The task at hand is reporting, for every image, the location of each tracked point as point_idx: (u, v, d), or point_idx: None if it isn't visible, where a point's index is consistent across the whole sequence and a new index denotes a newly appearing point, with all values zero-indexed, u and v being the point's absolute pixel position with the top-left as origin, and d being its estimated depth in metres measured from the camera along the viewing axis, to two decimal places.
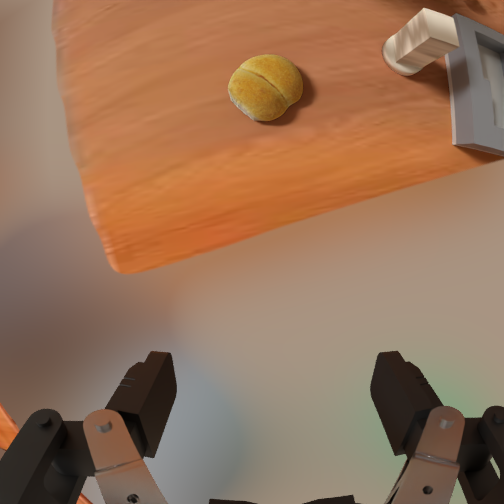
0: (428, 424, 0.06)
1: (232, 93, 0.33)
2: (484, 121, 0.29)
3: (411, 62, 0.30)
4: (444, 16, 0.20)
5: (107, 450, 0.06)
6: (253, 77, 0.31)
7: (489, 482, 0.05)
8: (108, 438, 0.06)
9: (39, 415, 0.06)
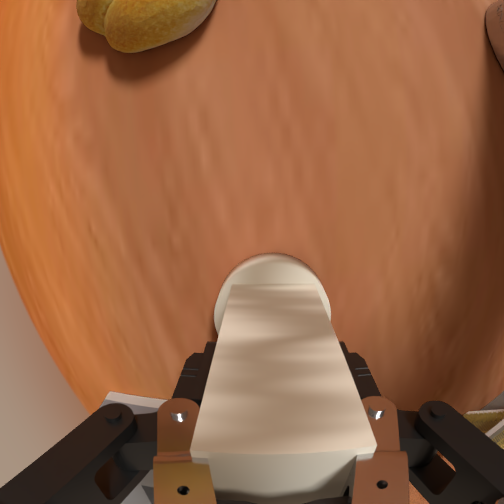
0: None
1: None
2: None
3: None
4: None
5: (191, 437, 0.07)
6: None
7: (442, 473, 0.06)
8: (180, 427, 0.07)
9: (110, 409, 0.07)
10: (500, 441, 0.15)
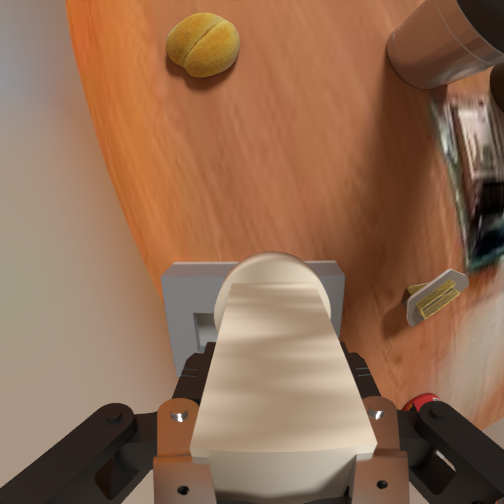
0: None
1: None
2: (191, 295, 0.33)
3: None
4: None
5: (191, 437, 0.07)
6: (205, 27, 0.27)
7: (442, 473, 0.06)
8: (180, 427, 0.07)
9: (110, 409, 0.07)
10: (435, 303, 0.33)
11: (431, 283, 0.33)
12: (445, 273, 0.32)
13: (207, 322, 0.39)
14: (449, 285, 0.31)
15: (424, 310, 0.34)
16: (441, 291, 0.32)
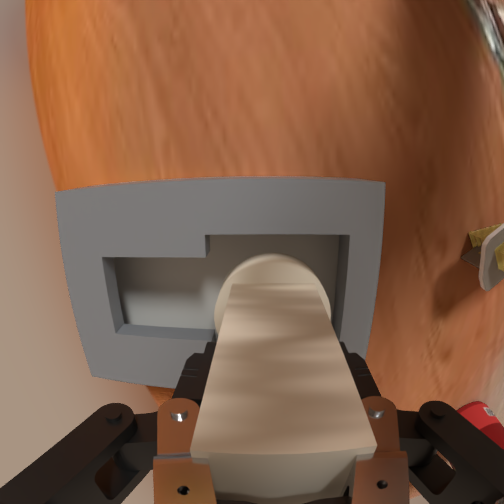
0: None
1: None
2: (99, 223, 0.17)
3: None
4: None
5: (191, 437, 0.07)
6: None
7: (442, 474, 0.06)
8: (180, 427, 0.07)
9: (110, 409, 0.07)
10: None
11: None
12: None
13: (141, 286, 0.23)
14: None
15: (503, 263, 0.17)
16: None
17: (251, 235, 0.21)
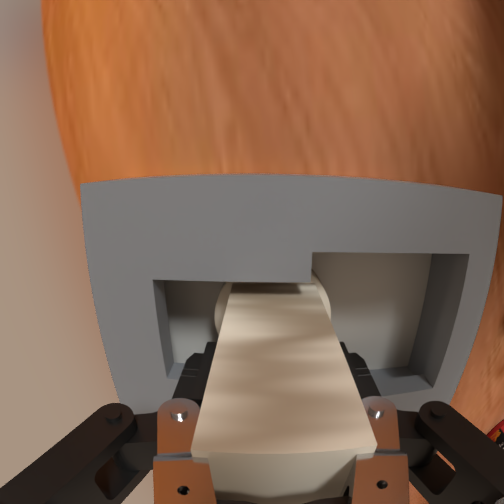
0: None
1: None
2: (150, 232, 0.12)
3: None
4: None
5: (191, 437, 0.07)
6: None
7: (442, 473, 0.06)
8: (180, 427, 0.07)
9: (110, 409, 0.07)
10: None
11: None
12: None
13: (192, 311, 0.18)
14: None
15: None
16: None
17: None
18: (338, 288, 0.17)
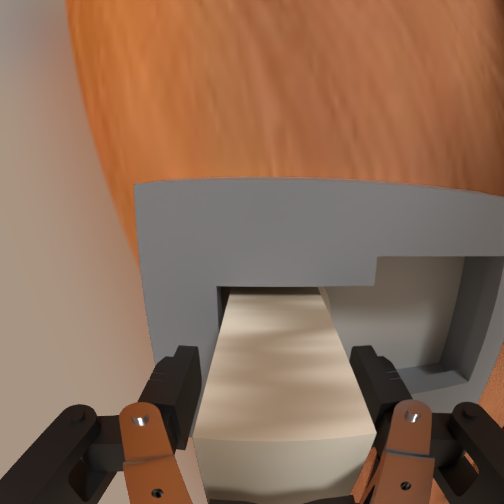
0: (392, 416, 0.07)
1: None
2: (216, 236, 0.12)
3: None
4: (341, 491, 0.06)
5: (148, 442, 0.06)
6: None
7: (467, 476, 0.05)
8: (143, 431, 0.07)
9: (73, 410, 0.07)
10: None
11: None
12: None
13: None
14: None
15: None
16: None
17: None
18: (383, 290, 0.17)
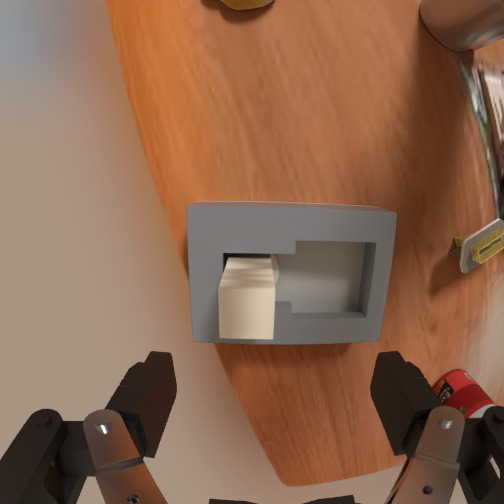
0: (428, 424, 0.06)
1: None
2: (223, 230, 0.28)
3: None
4: (269, 323, 0.22)
5: (107, 450, 0.06)
6: None
7: (489, 482, 0.05)
8: (108, 438, 0.06)
9: (39, 415, 0.06)
10: (486, 251, 0.29)
11: (484, 228, 0.29)
12: (495, 221, 0.28)
13: None
14: (500, 232, 0.27)
15: None
16: (494, 237, 0.28)
17: (312, 241, 0.33)
18: (311, 262, 0.33)
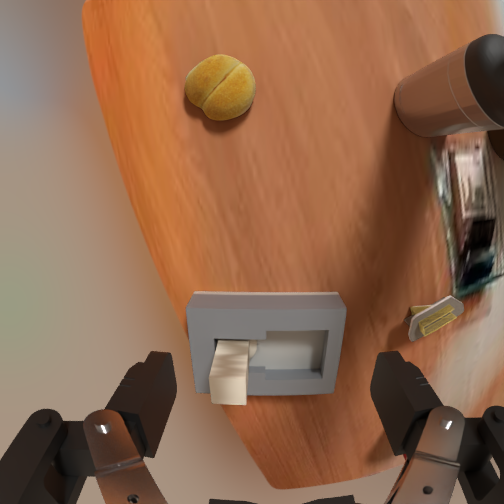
0: (428, 424, 0.06)
1: (210, 57, 0.32)
2: (213, 324, 0.38)
3: None
4: (243, 396, 0.32)
5: (107, 450, 0.06)
6: (223, 71, 0.32)
7: (489, 482, 0.05)
8: (108, 438, 0.06)
9: (39, 415, 0.06)
10: (434, 323, 0.38)
11: (433, 306, 0.38)
12: (446, 299, 0.37)
13: None
14: (448, 309, 0.36)
15: (424, 328, 0.38)
16: (441, 314, 0.37)
17: None
18: (283, 335, 0.43)
